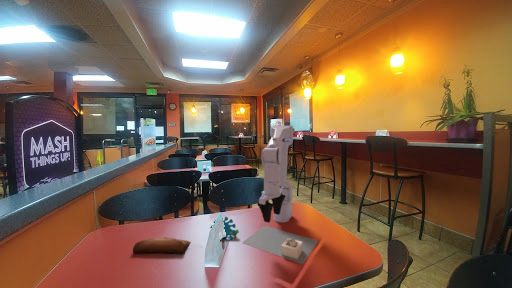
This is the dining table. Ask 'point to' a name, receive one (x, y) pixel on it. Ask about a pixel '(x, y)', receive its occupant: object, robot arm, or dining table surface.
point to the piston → (292, 243)
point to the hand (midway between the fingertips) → (272, 217)
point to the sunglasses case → (161, 245)
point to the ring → (291, 249)
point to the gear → (228, 229)
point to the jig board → (279, 242)
